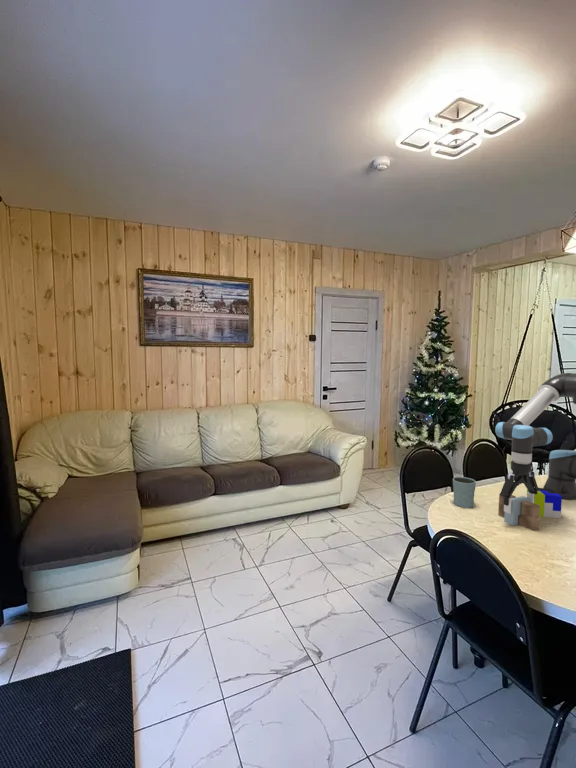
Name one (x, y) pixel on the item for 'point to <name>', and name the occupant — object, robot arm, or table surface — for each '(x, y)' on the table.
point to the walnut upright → (524, 513)
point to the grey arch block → (515, 510)
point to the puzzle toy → (548, 503)
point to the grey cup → (464, 491)
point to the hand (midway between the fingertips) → (518, 510)
